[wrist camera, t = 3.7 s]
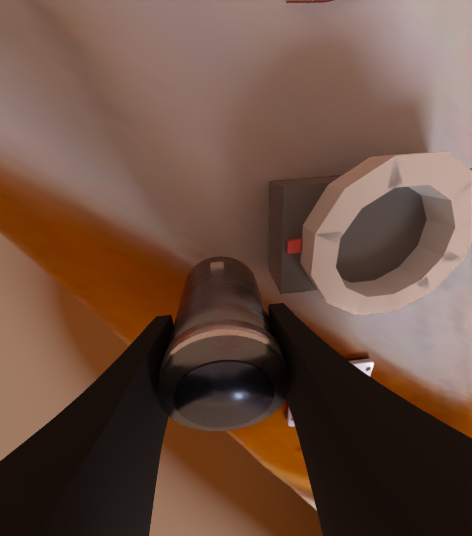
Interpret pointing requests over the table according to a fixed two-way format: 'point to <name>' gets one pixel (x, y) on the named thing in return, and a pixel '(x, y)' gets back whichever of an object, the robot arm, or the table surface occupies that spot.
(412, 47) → the table surface
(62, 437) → the robot arm
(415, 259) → the camera body
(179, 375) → the lens
